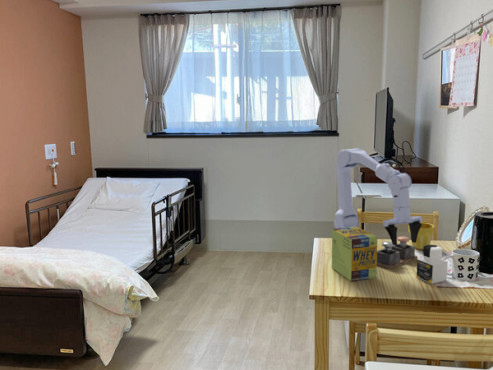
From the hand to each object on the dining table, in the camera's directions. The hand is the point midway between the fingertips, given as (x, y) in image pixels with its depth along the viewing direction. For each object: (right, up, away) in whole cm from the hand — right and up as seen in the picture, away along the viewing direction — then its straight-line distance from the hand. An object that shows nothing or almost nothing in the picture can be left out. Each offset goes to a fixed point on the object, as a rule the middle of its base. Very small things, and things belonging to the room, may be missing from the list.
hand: (404, 243), depth 158 cm
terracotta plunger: (+5, -4, +14) cm, 16 cm away
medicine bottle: (+7, -12, -7) cm, 15 cm away
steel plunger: (-3, -5, +9) cm, 10 cm away
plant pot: (+18, -6, +29) cm, 34 cm away
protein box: (-18, -11, +2) cm, 21 cm away
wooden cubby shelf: (+1, -9, +12) cm, 15 cm away
